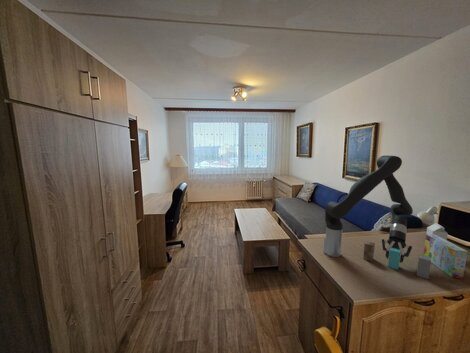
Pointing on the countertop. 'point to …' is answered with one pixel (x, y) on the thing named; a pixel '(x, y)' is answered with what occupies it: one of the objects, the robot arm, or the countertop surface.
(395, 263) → the teal block
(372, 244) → the walnut block
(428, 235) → the snack box
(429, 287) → the countertop surface
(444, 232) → the milk carton
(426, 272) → the charcoal block
